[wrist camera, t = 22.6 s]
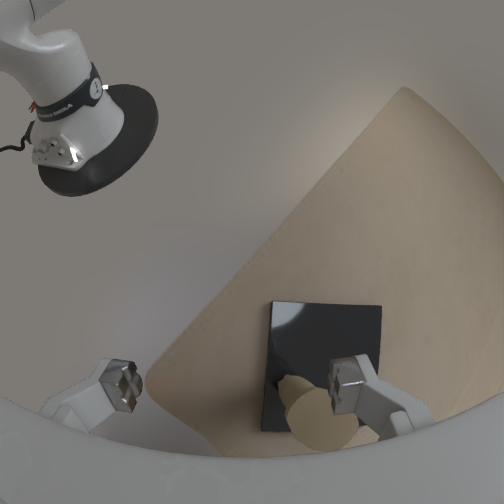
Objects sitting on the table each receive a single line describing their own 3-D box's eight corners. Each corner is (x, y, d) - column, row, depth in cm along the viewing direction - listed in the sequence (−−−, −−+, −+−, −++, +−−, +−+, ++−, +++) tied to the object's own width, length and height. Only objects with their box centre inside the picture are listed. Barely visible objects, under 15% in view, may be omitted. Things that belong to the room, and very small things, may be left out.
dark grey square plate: (260, 428, 31) (261, 431, 30) (271, 301, 36) (272, 300, 35) (367, 422, 32) (370, 424, 31) (378, 306, 36) (382, 305, 35)
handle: (293, 412, 31) (328, 461, 17) (258, 382, 32) (274, 422, 18) (318, 386, 32) (369, 419, 18) (284, 356, 33) (318, 377, 19)
